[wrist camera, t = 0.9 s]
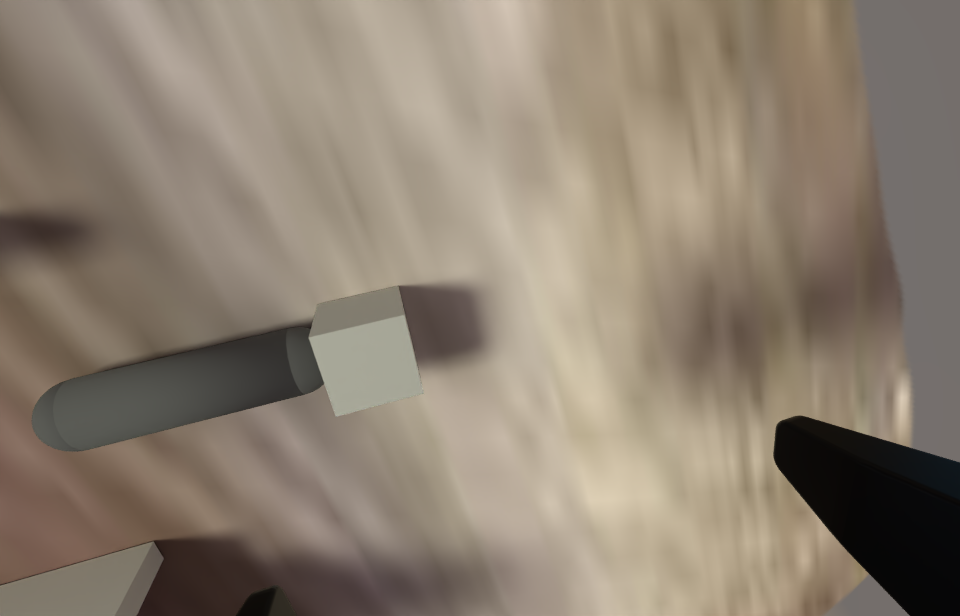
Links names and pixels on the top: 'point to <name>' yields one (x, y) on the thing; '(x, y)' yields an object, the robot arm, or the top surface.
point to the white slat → (87, 586)
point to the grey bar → (242, 376)
